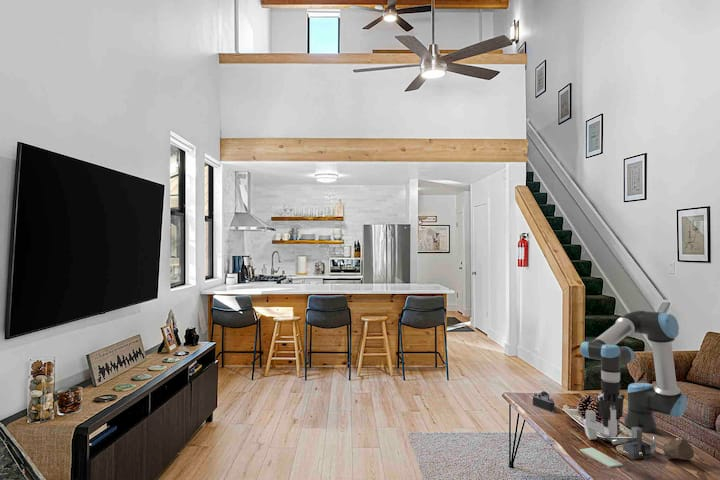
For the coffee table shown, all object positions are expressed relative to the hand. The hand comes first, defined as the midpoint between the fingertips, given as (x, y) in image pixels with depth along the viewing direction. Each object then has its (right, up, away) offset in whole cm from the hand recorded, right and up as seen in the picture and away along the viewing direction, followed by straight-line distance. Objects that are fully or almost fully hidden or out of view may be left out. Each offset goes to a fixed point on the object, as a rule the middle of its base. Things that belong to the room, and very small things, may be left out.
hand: (610, 433), depth 210 cm
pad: (-2, -13, +6) cm, 15 cm away
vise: (+16, -14, +10) cm, 23 cm away
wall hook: (+9, -14, +27) cm, 32 cm away
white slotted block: (-2, -1, +6) cm, 6 cm away
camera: (0, -15, +74) cm, 76 cm away
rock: (+32, -14, +5) cm, 35 cm away
